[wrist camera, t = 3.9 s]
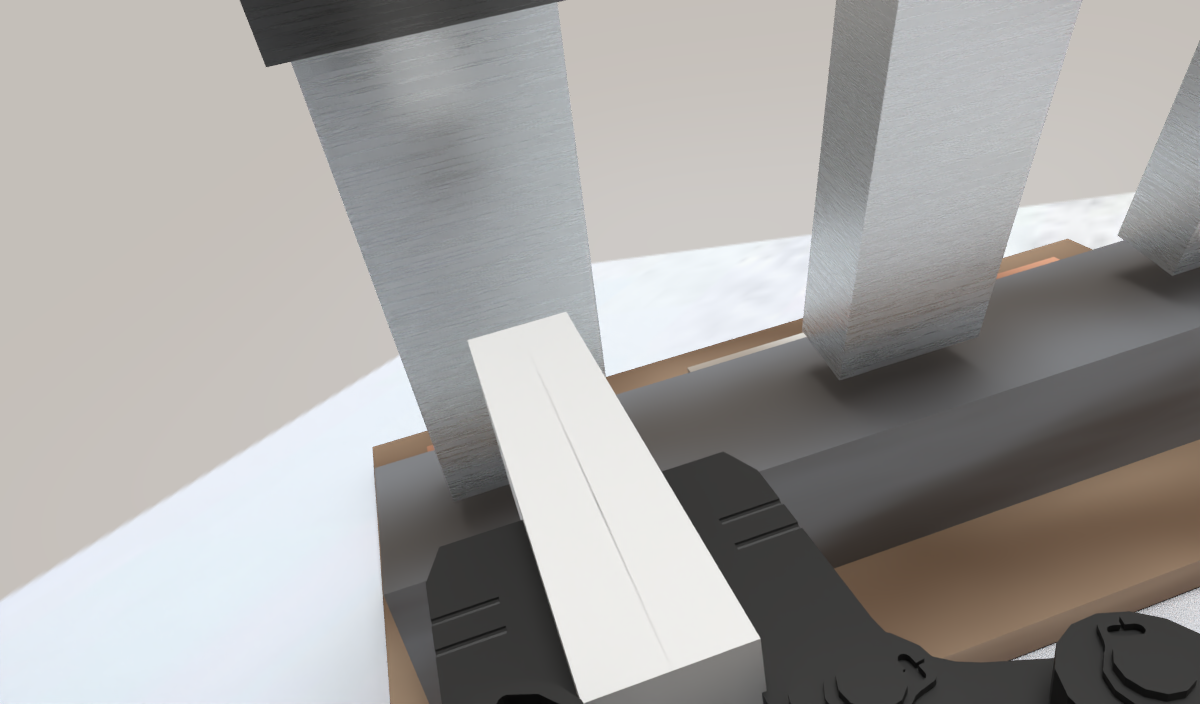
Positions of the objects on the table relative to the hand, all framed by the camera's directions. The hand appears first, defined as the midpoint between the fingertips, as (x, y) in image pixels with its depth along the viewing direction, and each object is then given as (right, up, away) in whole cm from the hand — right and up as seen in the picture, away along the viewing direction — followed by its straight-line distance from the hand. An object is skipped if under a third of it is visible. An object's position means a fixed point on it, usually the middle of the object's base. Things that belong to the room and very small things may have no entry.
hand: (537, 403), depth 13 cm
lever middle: (+9, +1, +10) cm, 13 cm away
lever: (-1, -2, +8) cm, 9 cm away
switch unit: (+9, -3, +14) cm, 17 cm away
